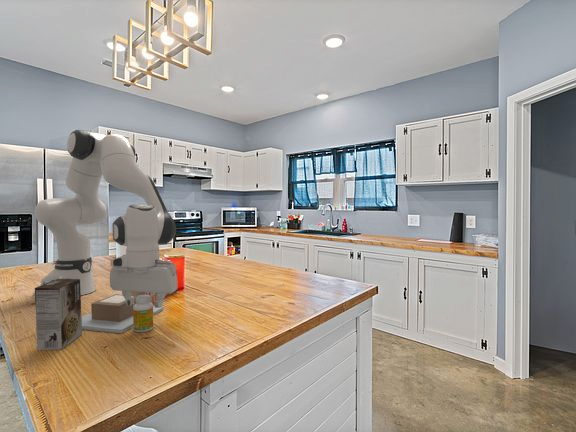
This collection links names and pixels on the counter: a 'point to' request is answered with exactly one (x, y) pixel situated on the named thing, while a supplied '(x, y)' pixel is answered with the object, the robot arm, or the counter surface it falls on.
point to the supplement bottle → (143, 314)
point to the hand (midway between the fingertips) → (144, 306)
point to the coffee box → (58, 313)
